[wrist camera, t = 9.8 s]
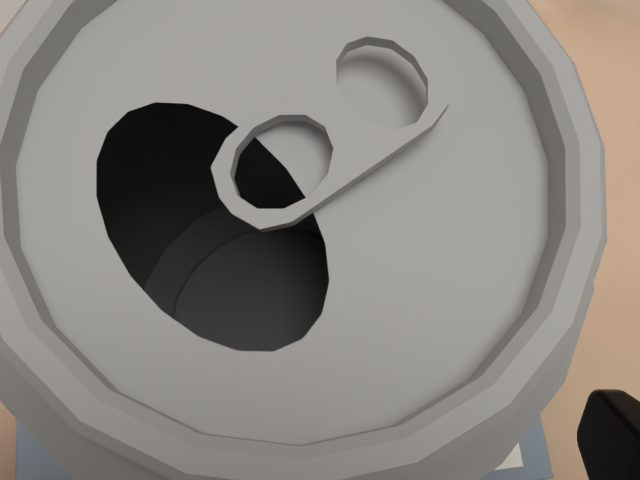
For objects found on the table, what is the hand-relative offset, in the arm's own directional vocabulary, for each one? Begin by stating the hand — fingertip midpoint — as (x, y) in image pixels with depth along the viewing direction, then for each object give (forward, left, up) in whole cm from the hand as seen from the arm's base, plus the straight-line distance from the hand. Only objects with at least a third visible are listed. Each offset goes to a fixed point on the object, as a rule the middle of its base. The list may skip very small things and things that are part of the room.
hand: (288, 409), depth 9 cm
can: (+1, +2, -8) cm, 8 cm away
